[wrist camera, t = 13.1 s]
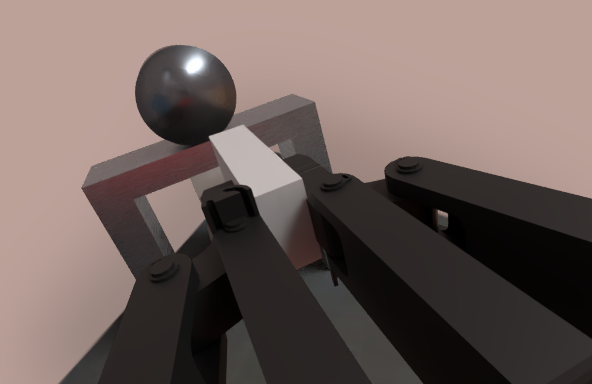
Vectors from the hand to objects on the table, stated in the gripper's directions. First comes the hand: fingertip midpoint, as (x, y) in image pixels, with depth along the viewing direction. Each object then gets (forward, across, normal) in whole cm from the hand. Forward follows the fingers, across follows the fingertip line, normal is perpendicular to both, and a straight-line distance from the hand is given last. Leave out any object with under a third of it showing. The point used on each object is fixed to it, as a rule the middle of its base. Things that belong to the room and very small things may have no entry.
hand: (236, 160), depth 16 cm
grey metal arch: (+13, 0, -17) cm, 22 cm away
